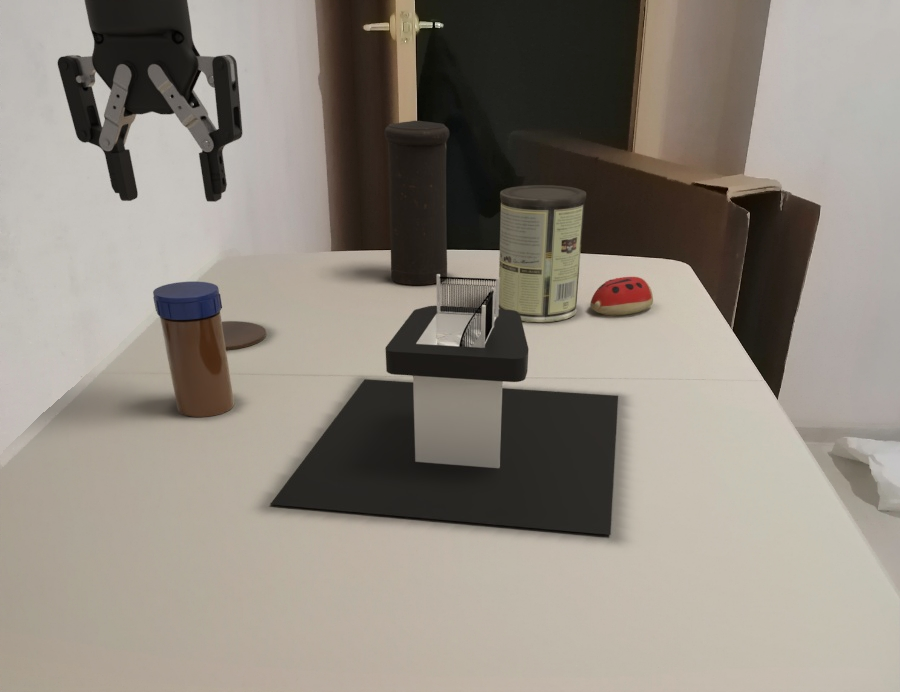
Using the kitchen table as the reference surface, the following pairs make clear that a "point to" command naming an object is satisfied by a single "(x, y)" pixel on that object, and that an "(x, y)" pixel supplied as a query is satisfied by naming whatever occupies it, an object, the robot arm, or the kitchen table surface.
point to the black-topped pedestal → (464, 432)
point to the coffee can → (540, 251)
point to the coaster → (242, 334)
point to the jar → (198, 365)
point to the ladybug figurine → (622, 296)
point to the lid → (187, 300)
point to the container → (417, 201)
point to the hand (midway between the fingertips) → (171, 199)
